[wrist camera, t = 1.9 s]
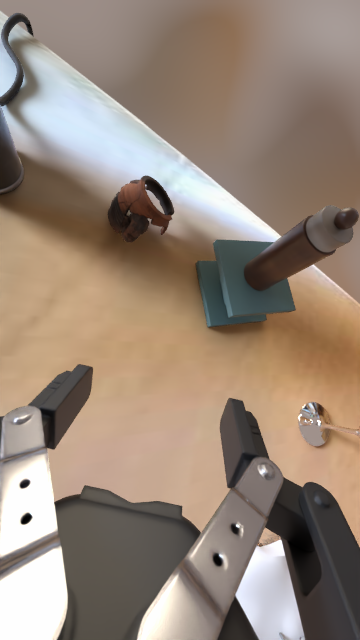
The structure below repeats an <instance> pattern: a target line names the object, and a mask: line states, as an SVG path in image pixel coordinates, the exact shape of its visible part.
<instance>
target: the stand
mask: <svg viewBox="0 0 360 640" xmlns="http://www.w3.org/2000/svg"><path fill="white" fill-rule="evenodd" d="M273 243H274V242H257V241H237V240H216V241H215V242H214V243H213V246H214V251H215V256H216V261H198V262H197V263H196V268H197V273H198V279H199V284H200V289H201V294H202V300H203V305H204V310H205V315H206V321H207V326H208V327H215V326H225V325H234V324H243V323H252V322H261V321H265V320H267V319H266V315H265V314H273V313H284V312H291V311H294V310H296V309H295V305H294V302H293V298H292V294H291V290H290V287H289V283H288V279H287V278H286V279H284V280H283V281H281V282H279V283H277V284H275V285H273V286H271V287H269V288H267V289H265V290H262V291H259V290H255V289H253V288H252V287H251V286H250V285H249V284H248V283H247V281H246V279H245V277H244V268H245V265H246V264H247V263H248V262H249V261H251V260H252V259H253V258H255V257H256V256H257V255H259V254H260V253H261V252H262V251H264V250H265V249H266V248H268V247H269V246H270V245H272V244H273Z"/></svg>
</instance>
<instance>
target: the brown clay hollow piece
mask: <svg viewBox="0 0 360 640" xmlns="http://www.w3.org/2000/svg"><path fill="white" fill-rule="evenodd" d="M145 184H146V185H147V186H146V187H145ZM145 189H146V190H149V191H151V192H152V193H153V194H154V195H155V196H156V198H157V199H158V200H159V201H160V205H161V206H162V208H163V210H164V213H165V214H163V213H161V212H160V211H159V210H157V209H156V207H155V206H154V205H153V203H152V202H151V200H150V198H149V197H148V195H147V192H146V190H145ZM128 210H130V212H131V214H130V216H129V217H128V216H126V214H127V212H128ZM173 214H174V208H173V205H172V202H171V200H170V198H169V197H168V195H167V193H166V191H165V190H164V189H163V187H162V186H161V185H160V184H159V183H158V182H157V181H156V180H154V179H153V178H151V177H149V176H143V177H142V178H141V180H133V181H131V182H130V183H129V184H126V185H125V186H123V187H122V188H121V191H120V192H118V193H117V194H116V197H115V198H114V199H113V200H112V203H111V206H110V208H109V211H108V218H109V221H110V224H111V226H112V227H113V229H114V230H115V232H116V233H117V234H118V233H119V232H120V231H122V234H121V236H122V238H123V240H125V241H126V242H133V241H135V240H136V239H137V238H138V237H139V236H140V235H141V234H143V233H144V232H146V231H147V229H148V226H149V221H148V219H147V218H149V219H152V220H151V224H153V225H157V226H160V227H161V226H162V229H161V235H162V234H163V233H165V231H166V230H167V227H168V224H169V221H170V220H172V217H171V215H173Z"/></svg>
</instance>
